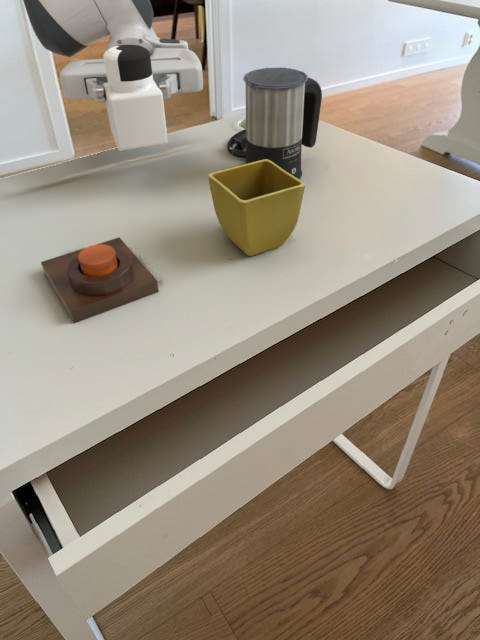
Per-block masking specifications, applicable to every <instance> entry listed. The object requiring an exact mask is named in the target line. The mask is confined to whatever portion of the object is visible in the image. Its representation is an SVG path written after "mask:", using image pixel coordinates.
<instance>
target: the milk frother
mask: <svg viewBox="0 0 480 640" xmlns="http://www.w3.org/2000/svg"><path fill="white" fill-rule="evenodd" d="M242 80H243V82H244V83H245V129H242V130H240V131H238V132H237V133H235V134H233V135H232V136H231V137H230V138H229V139H228V142H227V145H226V147H227V151H228V152H229V154H231V155H232V156H234V157H235V158H238V159H245V164H248V163H252V162H256V161H260V160H264V159H268V160H270V161H272V162H273V163H275V164H276V165H278V166H279V167H280V168H282V169H283V170H285V171H286V172H287V173H289V174H291V175H293V176H294V177H296V178H297V179H299V180H301V178H302V176H303V170H302V146H304V147H306V148H313V147H314V146H315V145H316V142H317V136H318V130H319V122H320V114H321V107H322V100H323V92H322V87H321V85H320V83H319V82H318V81H317V80H315V79H313V78H311V77H309V76H308V74H307V73H305V72H304V71H301V70H298V69H295V68H291V67H290V68H289V67H262V68H257V69H254V70H251V71H249V72H247V73H245V74H244V75H243V77H242Z"/></svg>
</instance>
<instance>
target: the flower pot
mask: <svg viewBox="0 0 480 640" xmlns="http://www.w3.org/2000/svg"><path fill="white" fill-rule="evenodd" d="M207 179H208V184H209V189H210V195H211V200H212V204H213V208H214V212H215V216H216V219H217V220H218V223H219V224H220V226H221V228H222V229H223V231H224V233H225V234H226V235H227V237H228V239H229V240H230V241H231V242H232V243H233V244H234V245H235V246H236V247H237V248H239V249H240V250H241V251H242V252H243V253H244V254H245V255H246V256H248V257H252V256H256V255H258V254H261V253H264V252H267V251H271V250H274V249H278V248H279V247H282V246H283V245H284V244H285V243H286V242H287V241H288V239H289V238H290V237H291V235H292V234H293V232H294V230H295V229H296V226H297V223H298V221H299V217H300V214H301V213H300V212H301V207H302V203H303V198H304V193H305V188H306V183H305V182H304V181H302V180H301V179H297V178H296V177H294V176H293V175H291V174H289V173H287V172H286V171H285V170H283V169H282V168H280V167H279V166H278V165H276V164H275V163H273V162H272V161H270V160H268V159H264V160H260V161H256V162H252V163H248V164H246V163H245V164H241V165H236V166H232V167H229V168H226V169H221V170H216V171H214V172H211V173H207Z"/></svg>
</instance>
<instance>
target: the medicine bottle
mask: <svg viewBox="0 0 480 640" xmlns="http://www.w3.org/2000/svg"><path fill="white" fill-rule="evenodd" d="M102 57H103V59H104V62H105V68H106V74H107V79H108V83H104V84H103V85H104V89H105V95H106V102H105V106H106V111H107V117H108V122H109V127H110V133H111V135H112V138H113V140H114V143H115V145H116V148H117V150H118V151H127V150H134V149H141V148H149V147H154V146H162V145H167V144H168V143H169V138H168V130H167V121H166V112H165V104H164V98H163V94H162V92H161V90H160V89H159V87H158V86H157V85H156V83H155V82H154V80H153V74H152V66H151V58H150V52H149V51H148V50H147V49H146V48H144V47H142V46H139V45H119V46H115V47H112V48H110V49H109V50H107V49H106V51H105V52H104V53H103V56H102Z"/></svg>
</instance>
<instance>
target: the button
mask: <svg viewBox="0 0 480 640" xmlns="http://www.w3.org/2000/svg"><path fill="white" fill-rule="evenodd" d="M98 244H99V245H96V244H93V245H89V246H87V247H84V248H85V249H84V248H82V249H83V250H82V251H81V252H80V253H79V255H78V259H79V263H80V267H81V270H82V273H83V274H84V275H86V276H89V277H95V276H103V275H106V274H109V273H112V272H113V271H115V270H116V269H117V267H118V263H117V258H116V253H115V250H114V249H113V248H112V247H111V246H108V245H102V244H100V243H98Z"/></svg>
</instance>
